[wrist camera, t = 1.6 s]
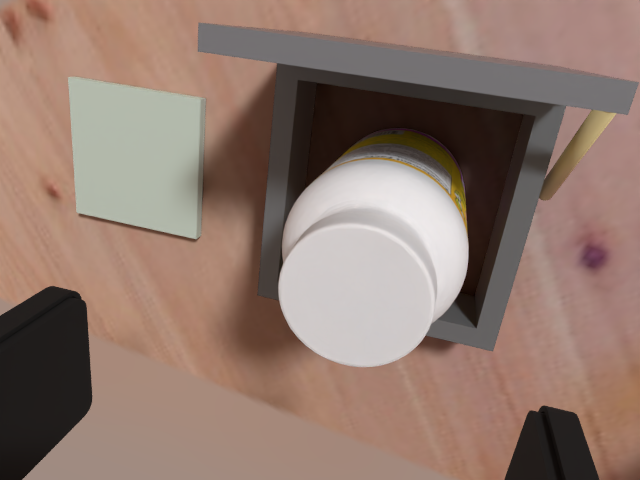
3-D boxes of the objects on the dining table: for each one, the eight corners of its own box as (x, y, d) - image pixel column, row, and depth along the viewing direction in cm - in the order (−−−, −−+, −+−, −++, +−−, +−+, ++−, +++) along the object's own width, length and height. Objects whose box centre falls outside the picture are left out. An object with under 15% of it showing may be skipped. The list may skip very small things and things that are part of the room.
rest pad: (205, 98, 27) (200, 99, 27) (200, 235, 30) (196, 239, 30) (75, 76, 29) (68, 77, 28) (83, 209, 32) (76, 212, 31)
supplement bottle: (422, 271, 28) (396, 433, 16) (316, 212, 28) (214, 329, 16) (492, 164, 25) (520, 268, 13) (373, 100, 25) (299, 145, 14)
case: (583, 69, 23) (680, 88, 13) (507, 320, 27) (534, 476, 18) (303, 32, 25) (198, 22, 15) (278, 268, 30) (188, 380, 20)
